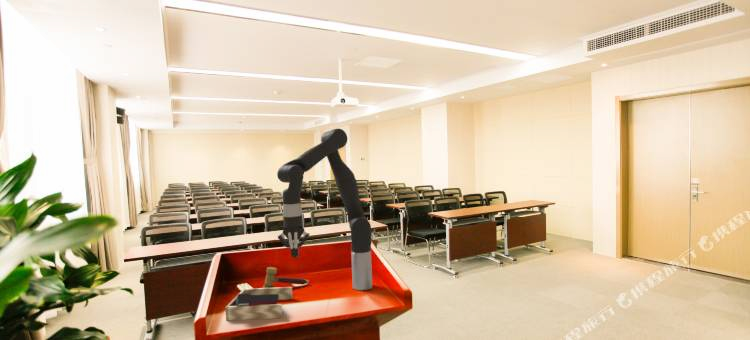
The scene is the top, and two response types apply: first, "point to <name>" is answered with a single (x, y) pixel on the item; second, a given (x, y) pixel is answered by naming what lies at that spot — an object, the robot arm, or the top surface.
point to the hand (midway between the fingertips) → (295, 257)
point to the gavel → (280, 279)
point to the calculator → (256, 299)
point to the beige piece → (258, 310)
